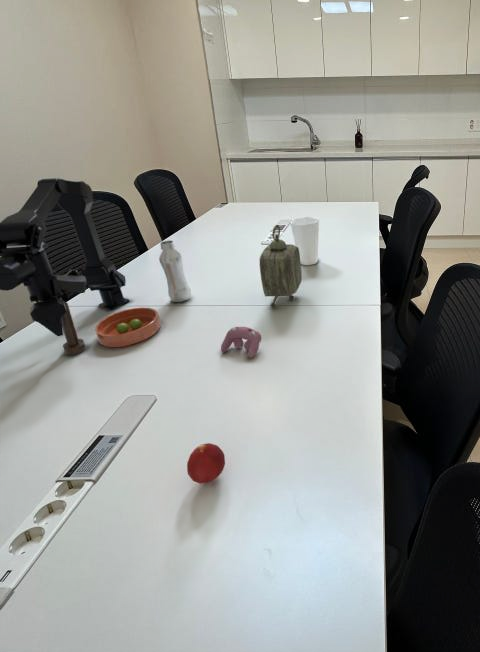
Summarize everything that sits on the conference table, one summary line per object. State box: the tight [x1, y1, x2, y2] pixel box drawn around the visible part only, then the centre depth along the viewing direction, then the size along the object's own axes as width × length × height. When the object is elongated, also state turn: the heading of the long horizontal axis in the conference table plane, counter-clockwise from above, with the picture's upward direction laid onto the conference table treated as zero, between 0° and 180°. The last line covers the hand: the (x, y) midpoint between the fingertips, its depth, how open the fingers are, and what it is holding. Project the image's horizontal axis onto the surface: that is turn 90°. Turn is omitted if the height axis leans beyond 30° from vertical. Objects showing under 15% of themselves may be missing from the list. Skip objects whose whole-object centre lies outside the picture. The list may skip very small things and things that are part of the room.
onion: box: [186, 442, 226, 484], centre depth 64 cm, size 6×6×8 cm
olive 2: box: [129, 319, 142, 330], centre depth 109 cm, size 3×3×3 cm
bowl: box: [94, 307, 162, 348], centre depth 108 cm, size 15×15×4 cm
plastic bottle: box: [158, 240, 192, 303], centre depth 123 cm, size 6×7×20 cm
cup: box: [289, 216, 320, 266], centre depth 151 cm, size 11×10×17 cm
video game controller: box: [220, 326, 262, 359], centre depth 100 cm, size 10×5×7 cm, turn 71°
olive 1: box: [116, 323, 129, 334], centre depth 108 cm, size 3×3×3 cm
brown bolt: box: [61, 301, 86, 356], centre depth 99 cm, size 4×4×14 cm
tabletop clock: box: [259, 224, 303, 309], centre depth 120 cm, size 14×9×25 cm, turn 178°
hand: (59, 328), depth 98 cm, fingers open, 9 cm apart
